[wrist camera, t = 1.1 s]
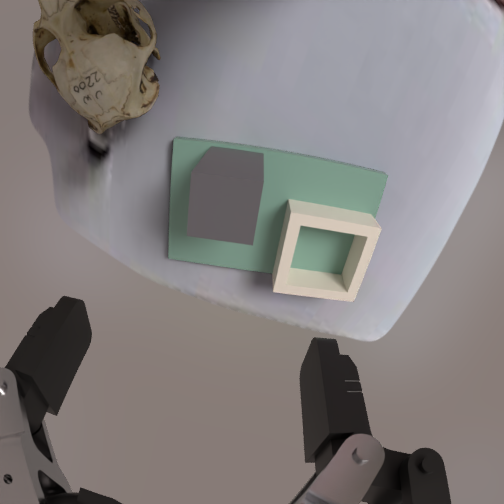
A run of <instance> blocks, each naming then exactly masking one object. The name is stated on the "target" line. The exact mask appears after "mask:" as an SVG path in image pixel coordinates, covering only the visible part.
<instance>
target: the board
mask: <svg viewBox="0 0 504 504" xmlns="http://www.w3.org/2000/svg"><path fill="white" fill-rule="evenodd" d="M211 146H215V147H223V148H231V149H238V150H245V151H252V152H259V153H264V184H263V190H262V196H261V201H260V207H259V213H258V219H257V225H256V230H255V236H254V242H253V246H252V245H246V244H239V243H232V242H225V241H218V240H211V239H204V238H197V237H190V236H187V224H188V208H189V194H190V181H191V172H192V170H193V169H194V168H195V167H196V165H197V164H198V163H199V161H200V160H201V159H202V157H203V156H204V155H205V154H206V152H207V151H208V150H209V149H210V147H211ZM387 178H388V175H387V174H386V173H384V172H381V171H377V170H373V169H369V168H365V167H361V166H356V165H352V164H348V163H343V162H339V161H334V160H329V159H324V158H320V157H315V156H309V155H304V154H299V153H293V152H288V151H282V150H276V149H270V148H264V147H257V146H251V145H244V144H237V143H229V142H221V141H213V140H204V139H195V138H185V137H176V138H174V143H173V156H172V171H171V189H170V211H169V249H168V258H169V259H175V260H182V261H188V262H195V263H202V264H208V265H215V266H222V267H229V268H236V269H243V270H250V271H257V272H264V273H271V274H272V273H273V268H274V264H275V259H276V255H277V250H278V245H279V241H280V236H281V231H282V227H283V222H284V217H285V213H286V208H287V203H288V199H292V200H298V201H304V202H310V203H315V204H321V205H326V206H332V207H337V208H342V209H348V210H353V211H358V212H363V213H368V214H372V216H373V217H374V219H375V217H376V214H377V211H378V208H379V204H380V201H381V198H382V195H383V191H384V188H385V184H386V181H387ZM354 236H355V235H354V234H349V233H343V232H337V231H331V230H325V229H319V228H313V227H307V226H300V230H299V234H298V238H297V243H296V247H295V251H294V255H293V259H292V263H291V267H290V268H297V269H304V270H311V271H318V272H326V273H333V274H340V275H341V274H342V271H343V268H344V266H345V263H346V260H347V257H348V254H349V251H350V248H351V245H352V242H353V239H354Z"/></svg>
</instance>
